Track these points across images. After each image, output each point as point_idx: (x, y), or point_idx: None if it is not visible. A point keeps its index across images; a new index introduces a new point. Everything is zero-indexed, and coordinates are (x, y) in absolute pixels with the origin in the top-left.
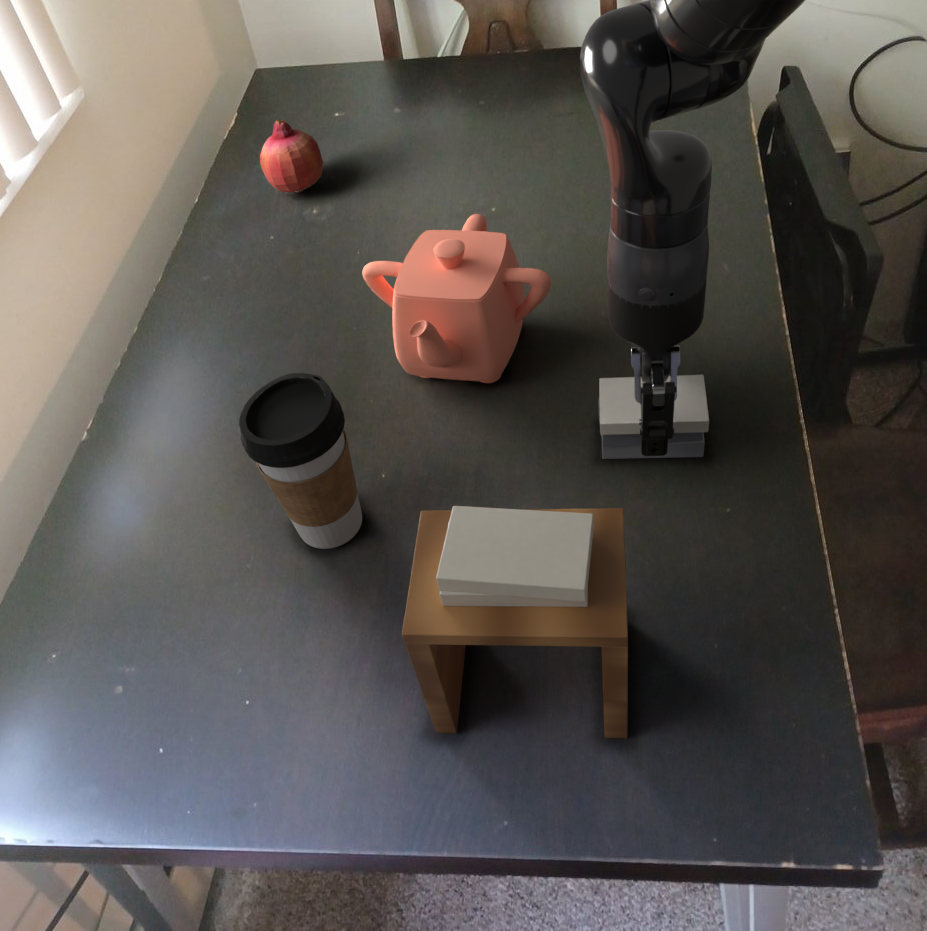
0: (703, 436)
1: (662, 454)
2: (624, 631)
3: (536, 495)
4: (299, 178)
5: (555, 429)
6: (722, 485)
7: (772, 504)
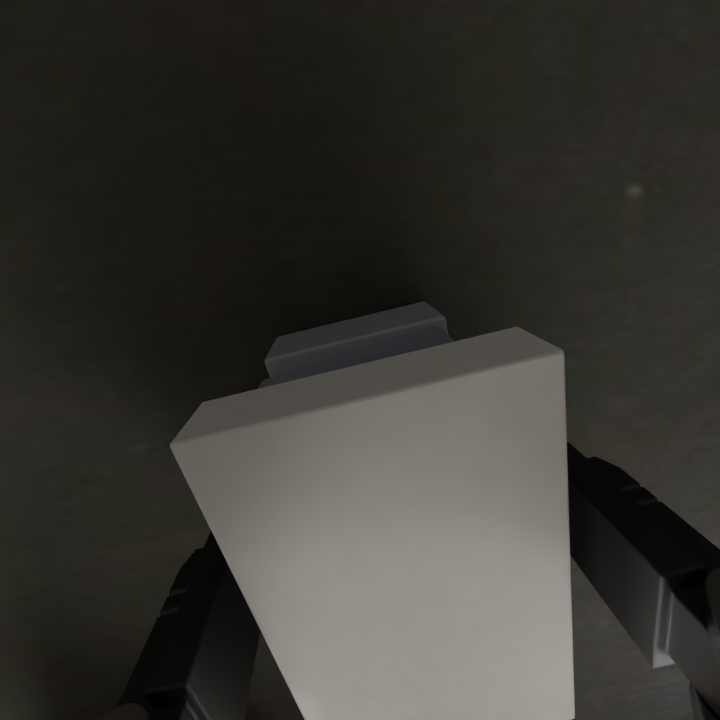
0: (417, 324)
1: (608, 464)
2: None
3: (575, 613)
4: None
5: None
6: (535, 222)
7: (618, 23)
